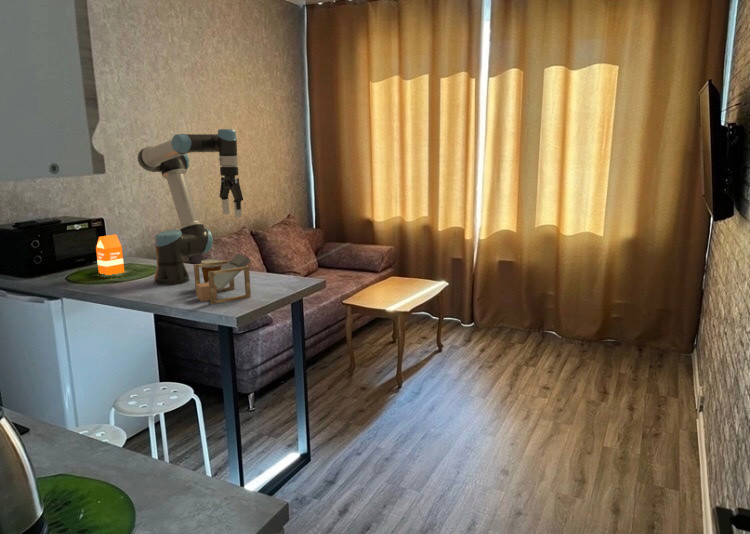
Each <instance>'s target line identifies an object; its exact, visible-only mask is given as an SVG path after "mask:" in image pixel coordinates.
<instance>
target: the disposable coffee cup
mask: <svg viewBox="0 0 750 534" xmlns="http://www.w3.org/2000/svg"><path fill="white" fill-rule="evenodd" d="M219 261H222V260H221V259H217V258H210V259H203V260H201V261H200V264H204V263H212V262H219ZM222 265H223V264H220V265H212V266H205V267H200V268H201V272H202V276H203V283H207V282H208V281H209V277H208V272H210V271H218V270H221V269H222V267H223V266H222ZM214 275H215V274H214Z"/></svg>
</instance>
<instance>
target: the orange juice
mask: <svg viewBox="0 0 750 534" xmlns="http://www.w3.org/2000/svg"><path fill="white" fill-rule="evenodd" d="M96 243H97V244H96V245H95V246H96V247H95V251H96V261H97V270H98V274H99V273H100V274H105V275H112V274H118V273H123V272H124V273H125V264H124V257H123V256H124V255H123V247H122V245H121V241H120V240H119V237H118V235H117V234H116V233H115V234H110V235H109V234H108V235H104V236H103V235H102V236H98V239H97V242H96Z"/></svg>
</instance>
